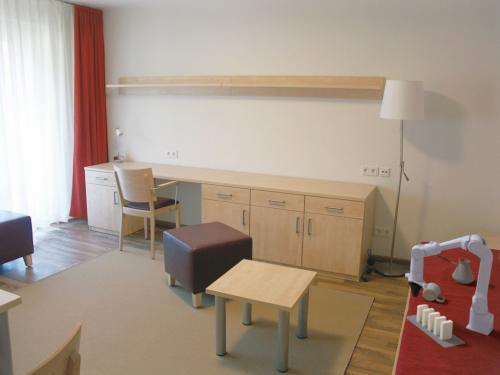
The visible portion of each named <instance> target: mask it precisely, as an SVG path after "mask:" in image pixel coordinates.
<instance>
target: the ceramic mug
mask: <svg viewBox="0 0 500 375" xmlns="http://www.w3.org/2000/svg"><path fill="white" fill-rule="evenodd" d="M427 284H428V288H426V289H424V288H423V290H422V297H423V298H424V300H426V301H429V302H434V301H436V302H438V303H444V301H445V299H446V298H445V296H443V294H441V287H440V286H439V285H438V284H436V283H434V282H429V283H427ZM438 297H439V298H441V299H439V298H438Z"/></svg>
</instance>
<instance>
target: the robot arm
mask: <svg viewBox="0 0 500 375" xmlns="http://www.w3.org/2000/svg"><path fill="white" fill-rule="evenodd" d="M457 248H461V249H462V250H465V251H467V250H468V251H469V252H470V253H471V254H473V255H475V256H477V257H478V259H480V264H479V268H478V269H479V270H478V275H477V280H476V281H477V283H476V289H475V293H474V295H472V298H471V299H472V303H471V306H470V309H469V322H468V324H467V326H465V329H467V330H470V331H474V332H477V333H480V334H483V335H485V336H488V335H489V334H490V333H491V332H492V331H493V329H494V314H493V313H492V312H489V308H488V290H489V284H490V278H491V272H492V266H493V262H494V261H493V259H494V254H493V252H492V250H491V248H490V246H489V245H488V243H487V240H486V239H485V238H483V237H482V236H481V235H480V234H477V233H476V234H475V233H474V234H473V233H472V234H469V235H465V236H464V235H463V236H462V237H458V238H455V239H451V240H447V241H444V242H437V241H433V240H432V241H429V243H425V244H422V243H421V244H417V245H414V246H412V249H411V251H410V259H411V260H410V269H409V270H410V272H406V273H404V274H405V278H407V280H408V285H409V287H410V290H411V294H412V297H414V298H418V297H419V294H420V291H421V289H423V290H424V289H426V288H428V283H426V281H425V280H424V279H423V278H424V262H425V261H424V258H427V257H431V256H436V255H440V254H441V252H443V251H447V250H451V249H457Z"/></svg>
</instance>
